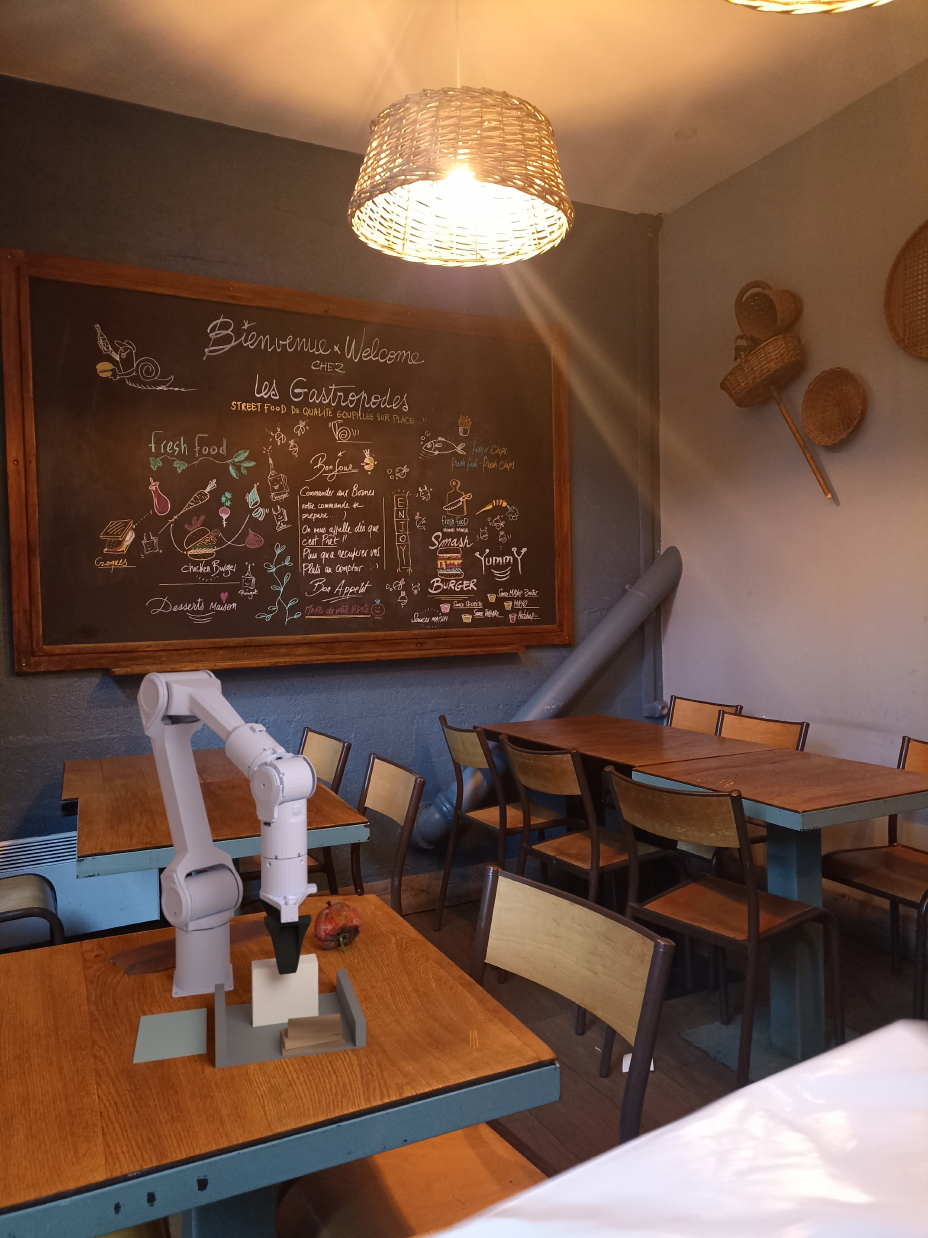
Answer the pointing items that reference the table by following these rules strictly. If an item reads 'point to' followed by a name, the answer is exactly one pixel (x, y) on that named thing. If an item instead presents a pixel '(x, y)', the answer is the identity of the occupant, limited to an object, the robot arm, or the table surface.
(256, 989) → the white rectangular block
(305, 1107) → the table surface
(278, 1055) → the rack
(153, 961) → the wooden tablet
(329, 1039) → the offcut stack
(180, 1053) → the mat
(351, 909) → the rotten apple
